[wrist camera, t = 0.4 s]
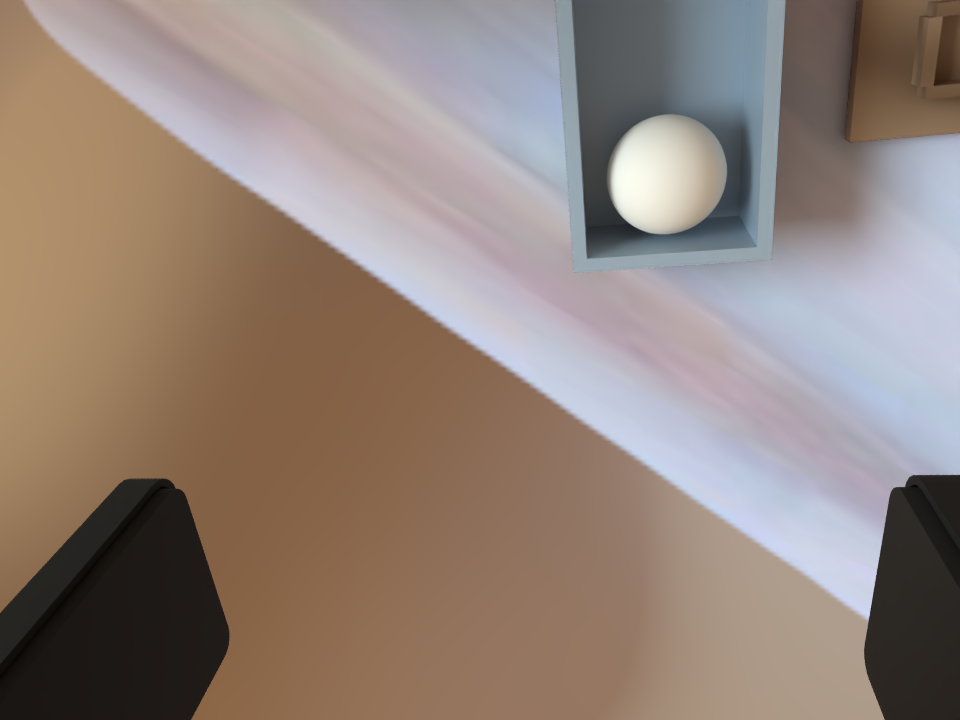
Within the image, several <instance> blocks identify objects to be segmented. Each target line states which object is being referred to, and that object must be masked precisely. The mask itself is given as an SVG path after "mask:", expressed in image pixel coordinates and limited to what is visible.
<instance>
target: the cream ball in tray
mask: <svg viewBox="0 0 960 720" xmlns="http://www.w3.org/2000/svg"><path fill="white" fill-rule="evenodd" d="M726 177H727V164H726V158H725V155H724V152H723V149H722V147H721V145H720V143H719V141H718V139H717V138H716V137H715V135H714V134H713V133H712V132H711V131H710V130H709V129H708V128H707V127H705V126H704V125H703V124H702V123H700V122H698V121H696V120H694V119H692V118H689V117H686V116H682V115H675V114H665V115H658V116H654V117H651V118H648V119H646V120H643V121H641V122H640V123H638V124H636V125H635V126H633V127H632V128H631V129H629V130H628V131H627V132H626V133H625V134H624V135H623V136H622V137H621V139H620V140H619V141H618V143H617V144H616V146H615V148H614V149H613V152H612V154H611V156H610V160H609V163H608V169H607V188H608V192H609V196H610V198H611V201H612V203H613V205H614V207H615V209H616V210H617V211H618V213H619V214H620V215H621V216H622V217H623V218H624V219H625V220H626V221H627V222H628V223H630V224H631V225H632V226H634V227H636V228H638V229H640V230H642V231H645V232H648V233H653V234H674V233H678V232H682V231H685V230H687V229H690V228H692V227H694V226H695V225H697V224H698V223H700V222H701V221H703V220H704V219H705V218H706V217H707V216H708V215H709V214H710V213H711V212H712V211H713V210H714V208H715V207H716V205H717V204H718V202H719V200H720V198H721V196H722V194H723V191H724V188H725V183H726Z"/></svg>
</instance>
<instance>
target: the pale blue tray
mask: <svg viewBox="0 0 960 720" xmlns="http://www.w3.org/2000/svg"><path fill="white" fill-rule="evenodd" d="M785 1H786V0H555V6H556V20H557V35H558V50H559V65H560V79H561V94H562V109H563V124H564V138H565V153H566V168H567V183H568V197H569V212H570V227H571V241H572V256H573V271H574V273H580V272H595V271H610V270H625V269H641V268H656V267H671V266H686V265H702V264H717V263H732V262H747V261H763V260H772V244H773V226H774V207H775V188H776V169H777V151H778V132H779V113H780V95H781V76H782V57H783V40H784V20H785ZM665 114H675V115H682V116H686V117H689V118H692V119H694V120H696V121H698V122H700V123H702V124H703V125H704V126H705V127H707V128H708V129H709V130H710V131H711V132H712V133H713V134H714V135H715V137H716V138H717V139H718V141H719V143H720V145H721V147H722V149H723V152H724V155H725V158H726V164H727V177H726V183H725V188H724V191H723V194H722V196H721V198H720V200H719V202H718V204H717V205H716V207H715V208H714V210H713V211H712V212H711V213H710V214H709V215H708V216H707V217H706V218H705V219H704V220H703V221H701V222H700V223H698V224H697V225H695V226H694V227H692V228H690V229H687V230H685V231H682V232H678V233H674V234H653V233H648V232H645V231H642V230H640V229H638V228H636V227H634V226H632V225H631V224H630V223H628V222H627V221H626V220H625V219H624V218H623V217H622V216H621V215H620V214H619V213H618V211H617V210H616V209H615V207H614V205H613V203H612V201H611V198H610V196H609V192H608V188H607V169H608V163H609V160H610V156H611V154H612V152H613V149H614V148H615V146H616V144H617V143H618V141H619V140H620V139H621V137H622V136H623V135H624V134H625V133H626V132H627V131H628V130H629V129H631V128H632V127H633V126H635V125H636V124H638V123H640V122H641V121H643V120H646V119H648V118H651V117H654V116H658V115H665Z"/></svg>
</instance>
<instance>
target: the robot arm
mask: <svg viewBox="0 0 960 720" xmlns="http://www.w3.org/2000/svg"><path fill="white" fill-rule="evenodd" d="M228 645H229V628H228V624H227V621H226V618H225V615H224V612H223V609H222V606H221V603H220V600H219V597H218V594H217V591H216V588H215V584H214V581H213V578H212V575H211V572H210V569H209V566H208V563H207V560H206V557H205V553H204V550H203V547H202V544H201V541H200V538H199V535H198V532H197V529H196V526H195V523H194V519H193V517H192V513H191V510H190V507H189V504H188V501H187V498H186V496H185V494H184V492H183V491H181V490H180V489H176V488H175V486H174V484H173V483H172V482H171V481H170V480H167V479H127V480H124V481H123V482H121V483H120V484H119V485H118V486H117V487H116V488H115V489H114V490H113V491H112V493H110V495H109V496H108V497H107V498H106V499H105V500H104V501H103V502H102V503H101V504H100V506H99V507H98V508H97V509H96V510H95V511H94V512H93V513H92V514H91V515H90V516H89V517H88V518H87V520H86V521H85V522H84V523H83V524H82V525H81V526H80V527H79V528H78V529H77V530H76V532H75V533H74V534H73V535H72V536H71V537H70V538H69V539H68V540H67V541H66V542H65V543H64V544H63V546H62V547H61V548H60V549H59V550H58V551H57V552H56V553H55V554H54V555H53V556H52V557H51V559H50V560H49V561H48V562H47V563H46V564H45V565H44V566H43V567H42V568H41V569H40V571H39V572H38V573H37V574H36V575H35V576H34V577H33V578H32V579H31V580H30V581H29V582H28V584H27V585H26V586H25V587H24V588H23V589H22V590H21V591H20V592H19V593H18V594H17V595H16V596H15V598H14V599H13V600H12V601H11V602H10V603H9V604H8V605H7V606H6V607H5V608H4V610H3V611H2V612H1V613H0V720H191V719H192V717H193V715H194V713H195V711H196V709H197V707H198V706H199V704H200V702H201V700H202V698H203V696H204V694H205V692H206V691H207V688H208V687H209V685H210V683H211V681H212V680H213V677H214V676H215V674H216V672H217V670H218V668H219V666H220V665H221V663H222V661H223V659H224V657H225V655H226V652H227V649H228ZM864 657H865V665H866V670H867V674H868V677H869V680H870V683H871V686H872V688H873V691H874V693H875V696H876V698H877V701H878V703H879V706H880V708H881V711H882V714H883V716H884V719H885V720H960V475H913V476H911V477H909V479H908V481H907V482H906V486H905V487H896V488H893V490H892V491H891V494H890V498H889V504H888V510H887V516H886V522H885V528H884V534H883V539H882V545H881V551H880V557H879V563H878V569H877V575H876V581H875V587H874V593H873V599H872V605H871V611H870V617H869V623H868V629H867V635H866V641H865V648H864Z"/></svg>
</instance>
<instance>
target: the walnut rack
mask: <svg viewBox="0 0 960 720" xmlns="http://www.w3.org/2000/svg"><path fill="white" fill-rule="evenodd" d="M951 133H960V0H857V8H856V19H855V30H854V41H853V52H852V63H851V74H850V85H849V96H848V107H847V117H846V128H845V139H846V140H847V141H849V142H861V141H872V140H883V139H894V138H906V137H917V136H928V135H940V134H951Z"/></svg>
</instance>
